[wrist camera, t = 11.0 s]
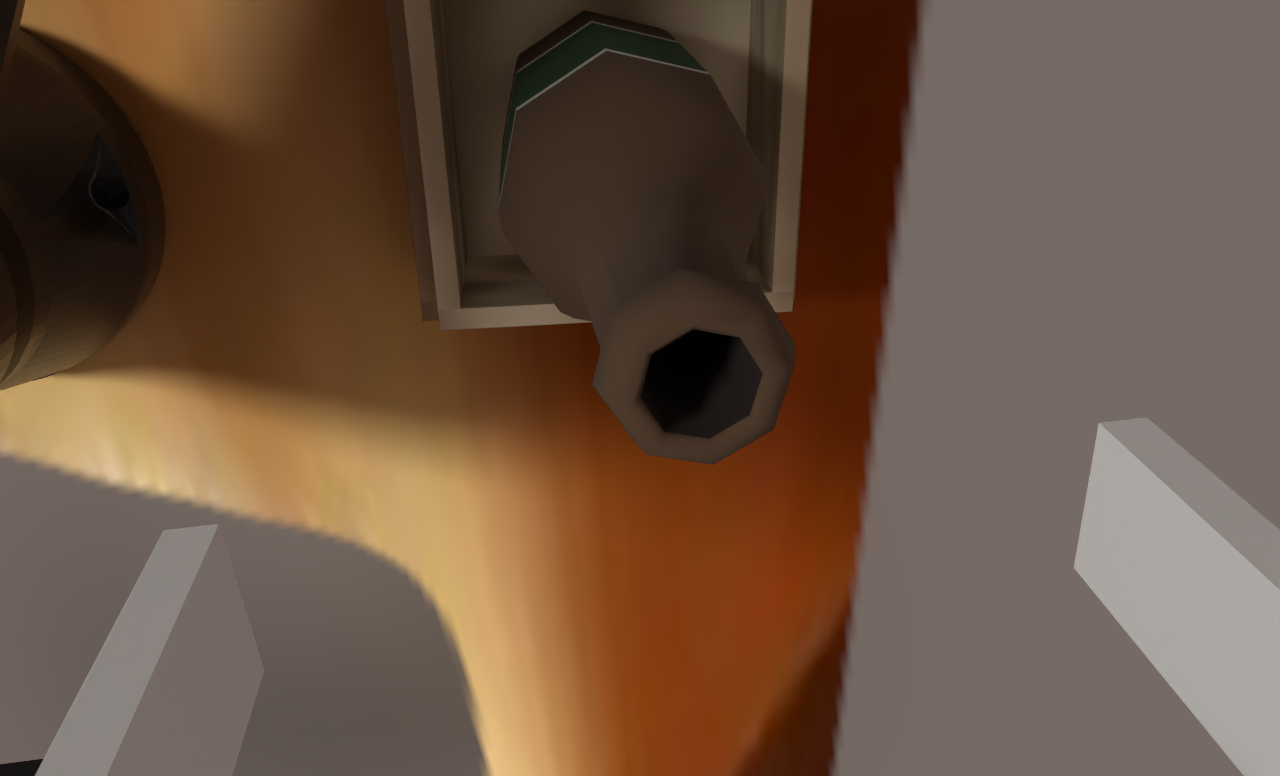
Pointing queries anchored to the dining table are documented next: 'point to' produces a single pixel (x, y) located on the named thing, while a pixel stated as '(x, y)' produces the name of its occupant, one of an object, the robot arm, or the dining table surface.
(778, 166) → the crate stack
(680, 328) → the beer bottle
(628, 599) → the dining table surface
